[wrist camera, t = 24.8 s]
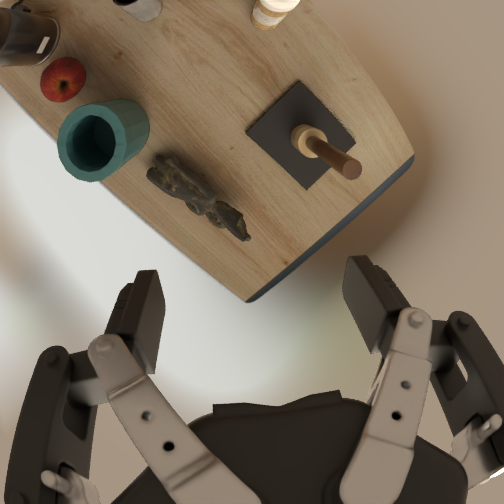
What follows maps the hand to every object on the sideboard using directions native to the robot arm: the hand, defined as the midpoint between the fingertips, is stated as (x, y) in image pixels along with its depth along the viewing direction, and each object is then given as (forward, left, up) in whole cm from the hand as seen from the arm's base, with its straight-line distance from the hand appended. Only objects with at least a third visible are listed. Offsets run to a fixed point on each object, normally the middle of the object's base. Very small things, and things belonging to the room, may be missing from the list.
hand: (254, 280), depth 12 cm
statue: (+2, -10, -36) cm, 38 cm away
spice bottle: (-10, +18, -36) cm, 42 cm away
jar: (-15, -10, -36) cm, 40 cm away
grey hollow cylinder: (-25, +8, -36) cm, 45 cm away
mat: (+8, +8, -36) cm, 38 cm away
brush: (+8, +8, -36) cm, 37 cm away
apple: (-28, -8, -36) cm, 47 cm away
